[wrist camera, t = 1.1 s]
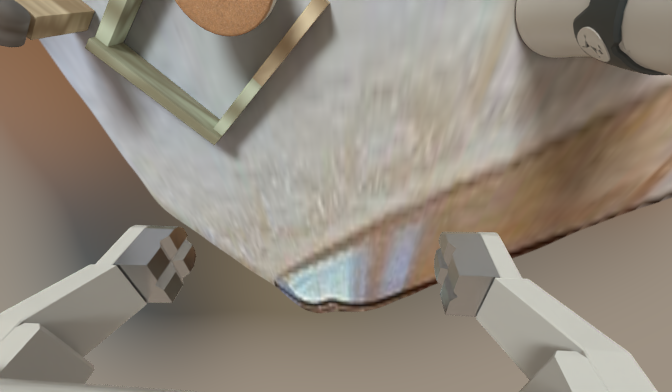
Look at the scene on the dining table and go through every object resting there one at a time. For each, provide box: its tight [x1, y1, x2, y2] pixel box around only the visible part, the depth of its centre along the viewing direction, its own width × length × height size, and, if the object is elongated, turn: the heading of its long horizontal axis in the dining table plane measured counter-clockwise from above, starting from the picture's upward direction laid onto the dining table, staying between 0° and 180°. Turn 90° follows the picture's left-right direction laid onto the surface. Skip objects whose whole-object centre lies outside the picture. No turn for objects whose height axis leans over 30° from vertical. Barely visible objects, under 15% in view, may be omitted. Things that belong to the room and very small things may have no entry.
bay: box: [85, 0, 330, 145], centre depth 34 cm, size 24×18×4 cm
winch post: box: [0, 0, 94, 47], centre depth 31 cm, size 4×4×14 cm
